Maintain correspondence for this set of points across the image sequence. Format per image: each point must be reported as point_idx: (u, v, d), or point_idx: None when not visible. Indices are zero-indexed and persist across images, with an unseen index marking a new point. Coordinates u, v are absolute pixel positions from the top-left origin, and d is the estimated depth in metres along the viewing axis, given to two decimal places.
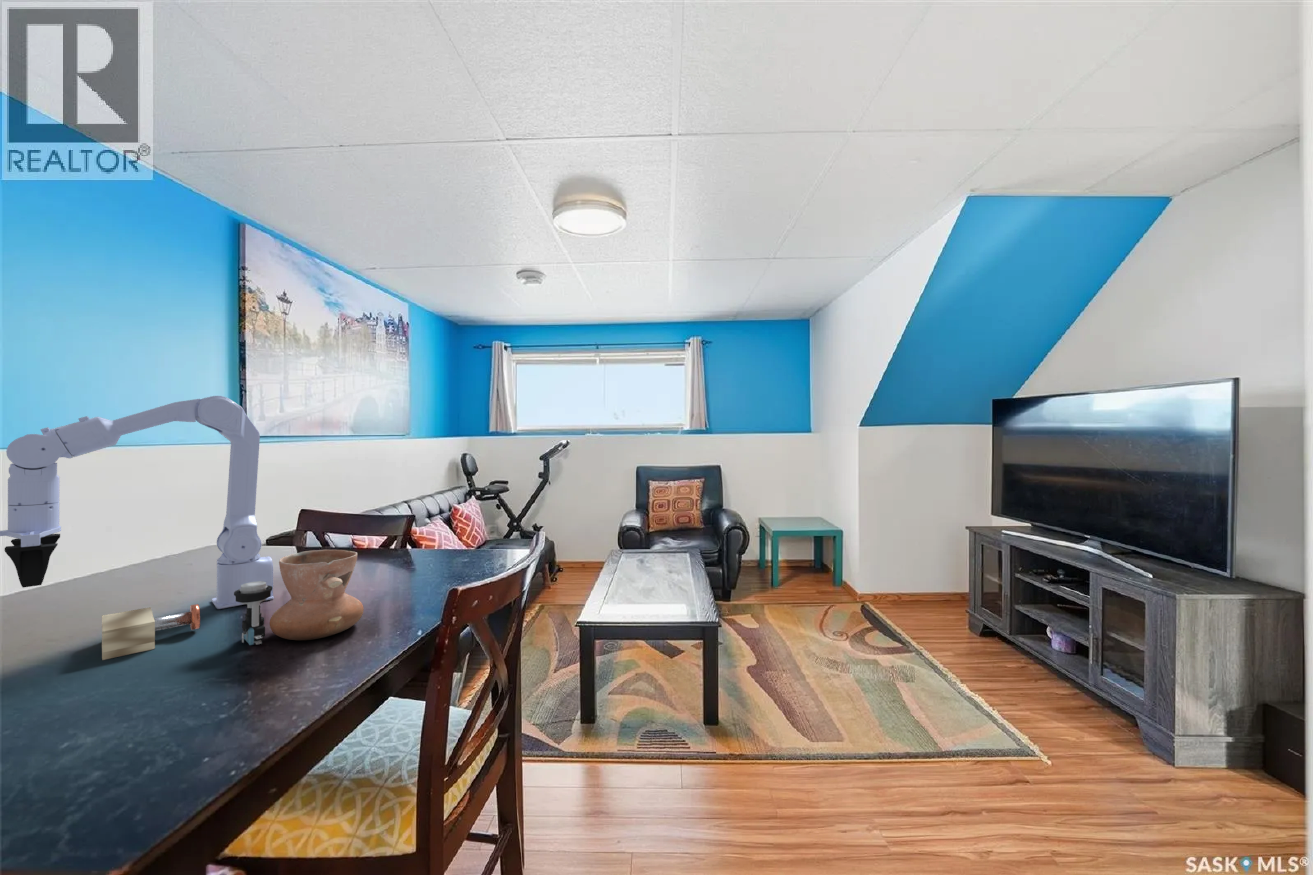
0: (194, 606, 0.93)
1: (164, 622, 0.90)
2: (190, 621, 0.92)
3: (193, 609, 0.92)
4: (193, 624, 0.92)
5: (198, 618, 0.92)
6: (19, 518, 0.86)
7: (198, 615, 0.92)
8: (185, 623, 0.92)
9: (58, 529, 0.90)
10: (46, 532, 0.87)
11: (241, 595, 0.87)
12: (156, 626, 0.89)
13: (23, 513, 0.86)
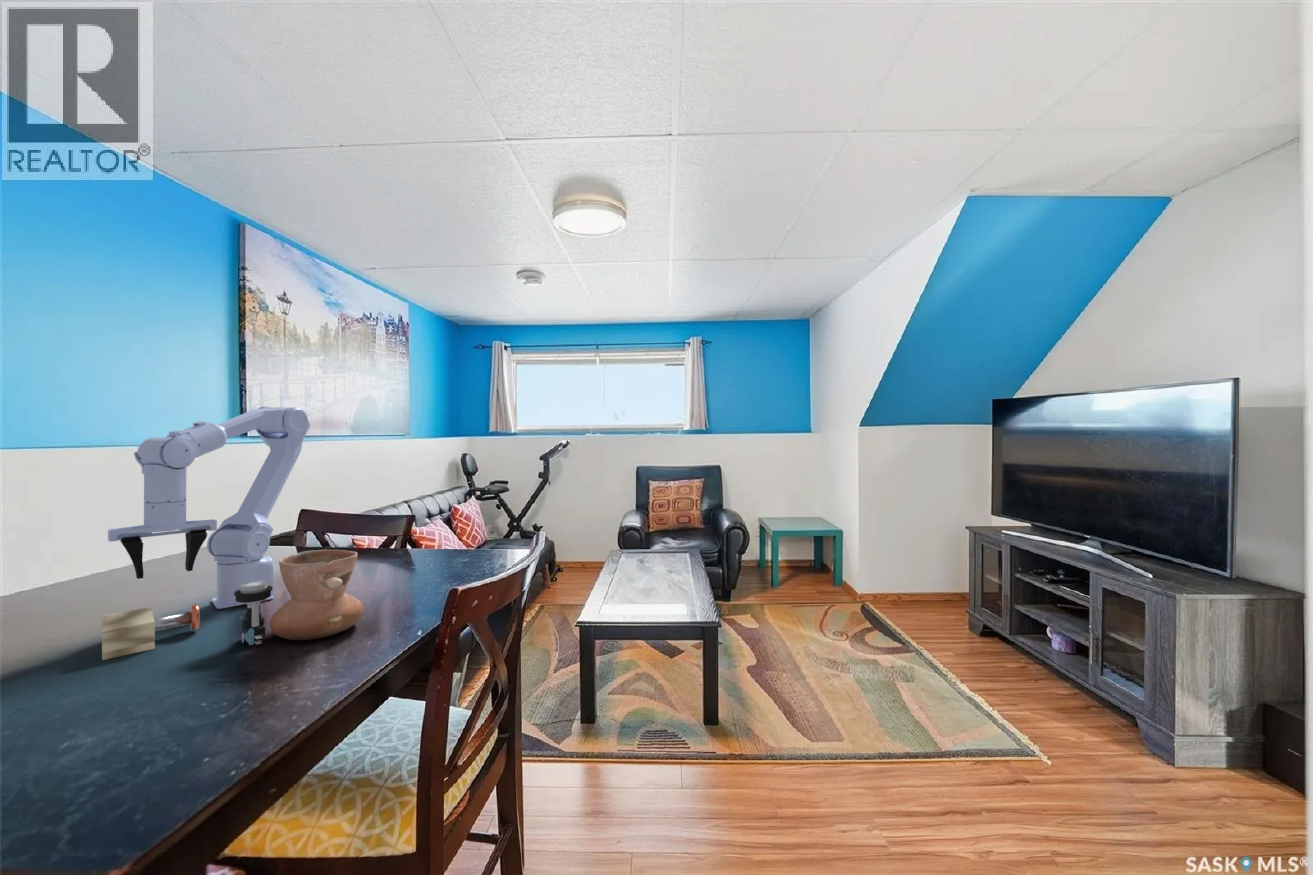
0: (194, 606, 0.93)
1: (164, 622, 0.90)
2: (190, 621, 0.92)
3: (193, 609, 0.92)
4: (193, 624, 0.92)
5: (198, 618, 0.92)
6: None
7: (198, 615, 0.92)
8: (185, 623, 0.92)
9: (158, 529, 0.93)
10: (131, 530, 0.91)
11: (241, 595, 0.87)
12: (156, 626, 0.89)
13: None
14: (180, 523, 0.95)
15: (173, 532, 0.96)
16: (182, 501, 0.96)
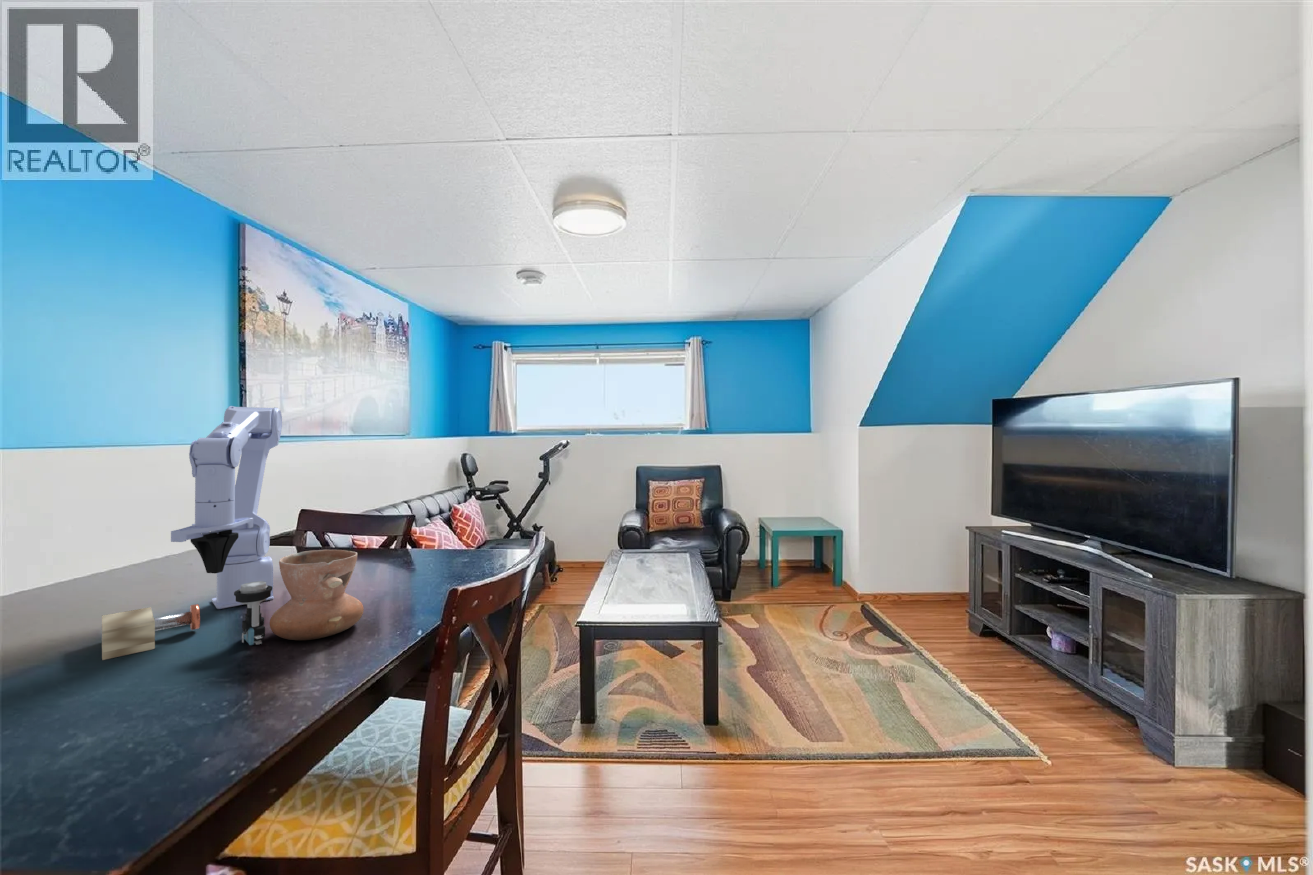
0: (194, 606, 0.93)
1: (164, 622, 0.90)
2: (190, 621, 0.92)
3: (193, 609, 0.92)
4: (193, 624, 0.92)
5: (198, 618, 0.92)
6: (195, 513, 0.94)
7: (198, 615, 0.92)
8: (185, 623, 0.92)
9: (222, 527, 0.95)
10: (199, 529, 0.92)
11: (241, 595, 0.87)
12: (156, 626, 0.89)
13: (196, 509, 0.94)
14: (234, 521, 0.98)
15: (221, 531, 0.98)
16: (234, 499, 0.98)
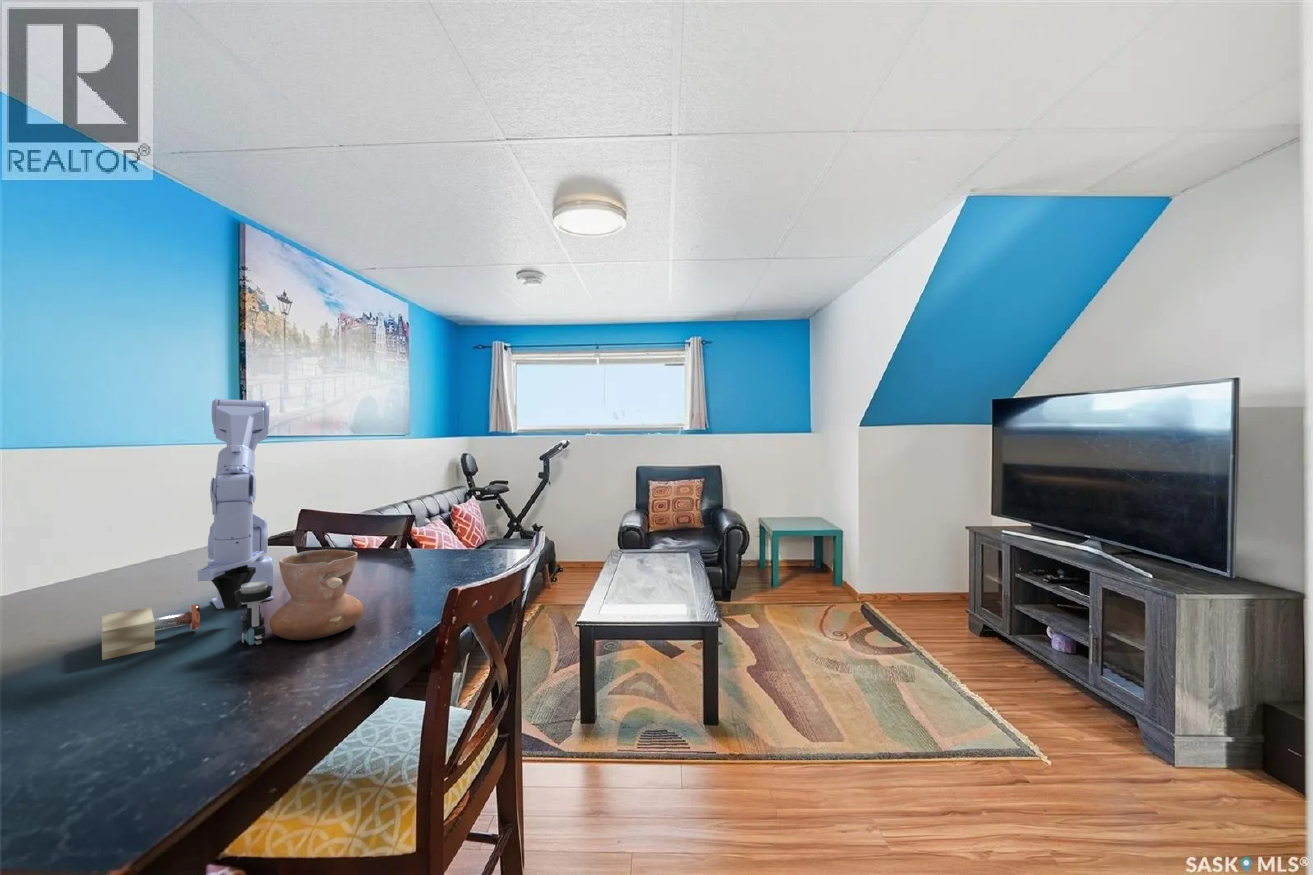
0: (194, 606, 0.93)
1: (164, 622, 0.90)
2: (190, 621, 0.92)
3: (193, 609, 0.92)
4: (193, 624, 0.92)
5: (198, 618, 0.92)
6: (215, 551, 0.95)
7: (198, 615, 0.92)
8: (185, 623, 0.92)
9: (244, 563, 0.96)
10: (224, 567, 0.93)
11: (241, 595, 0.87)
12: (156, 626, 0.89)
13: (217, 547, 0.94)
14: (252, 556, 0.99)
15: (238, 566, 0.98)
16: None
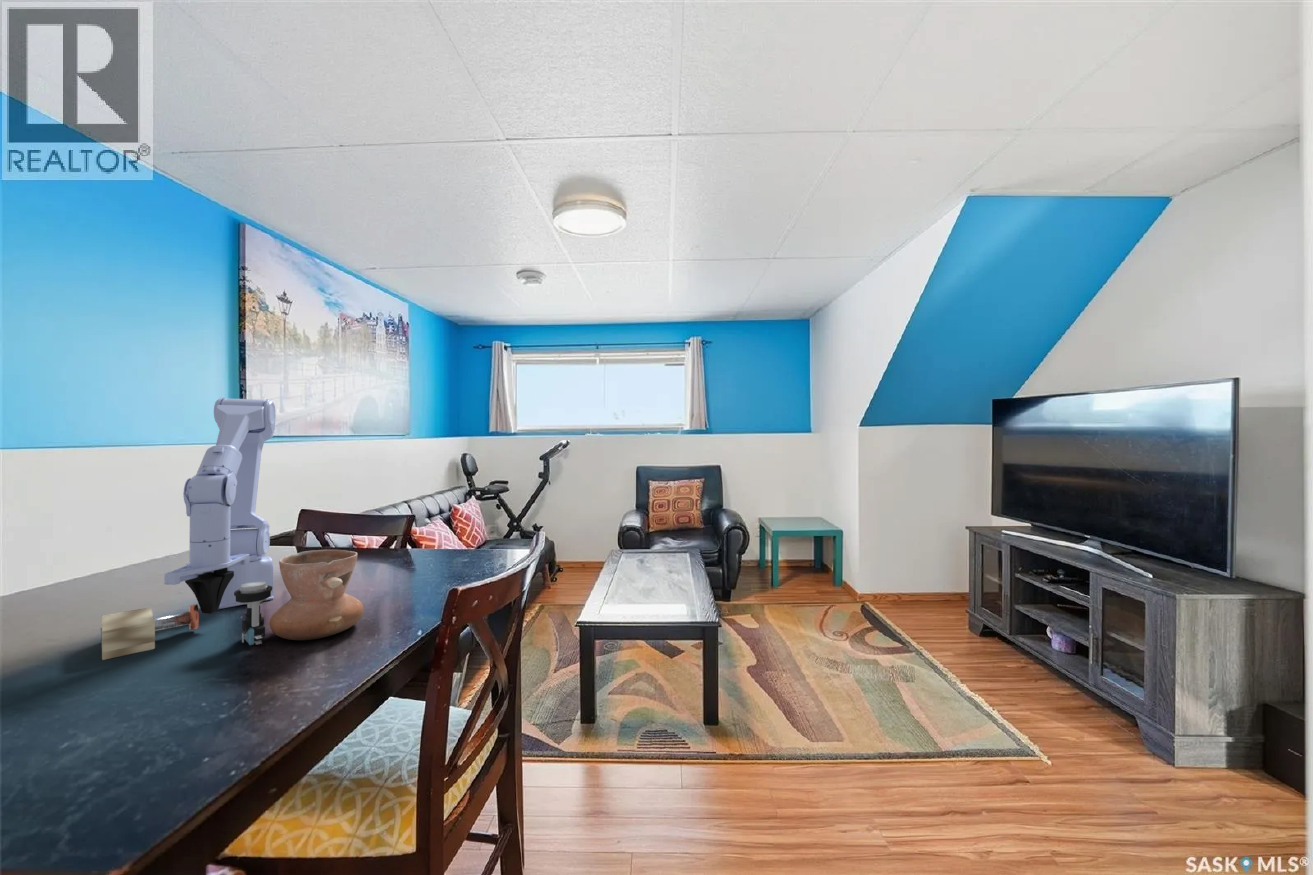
0: (193, 606, 0.93)
1: (163, 622, 0.90)
2: (189, 621, 0.92)
3: (192, 609, 0.92)
4: (192, 624, 0.92)
5: (197, 618, 0.92)
6: (190, 553, 0.92)
7: (197, 615, 0.92)
8: (184, 623, 0.92)
9: (217, 567, 0.93)
10: (193, 571, 0.90)
11: (241, 595, 0.87)
12: (155, 626, 0.89)
13: (191, 549, 0.92)
14: (229, 559, 0.96)
15: (217, 569, 0.96)
16: (230, 537, 0.97)
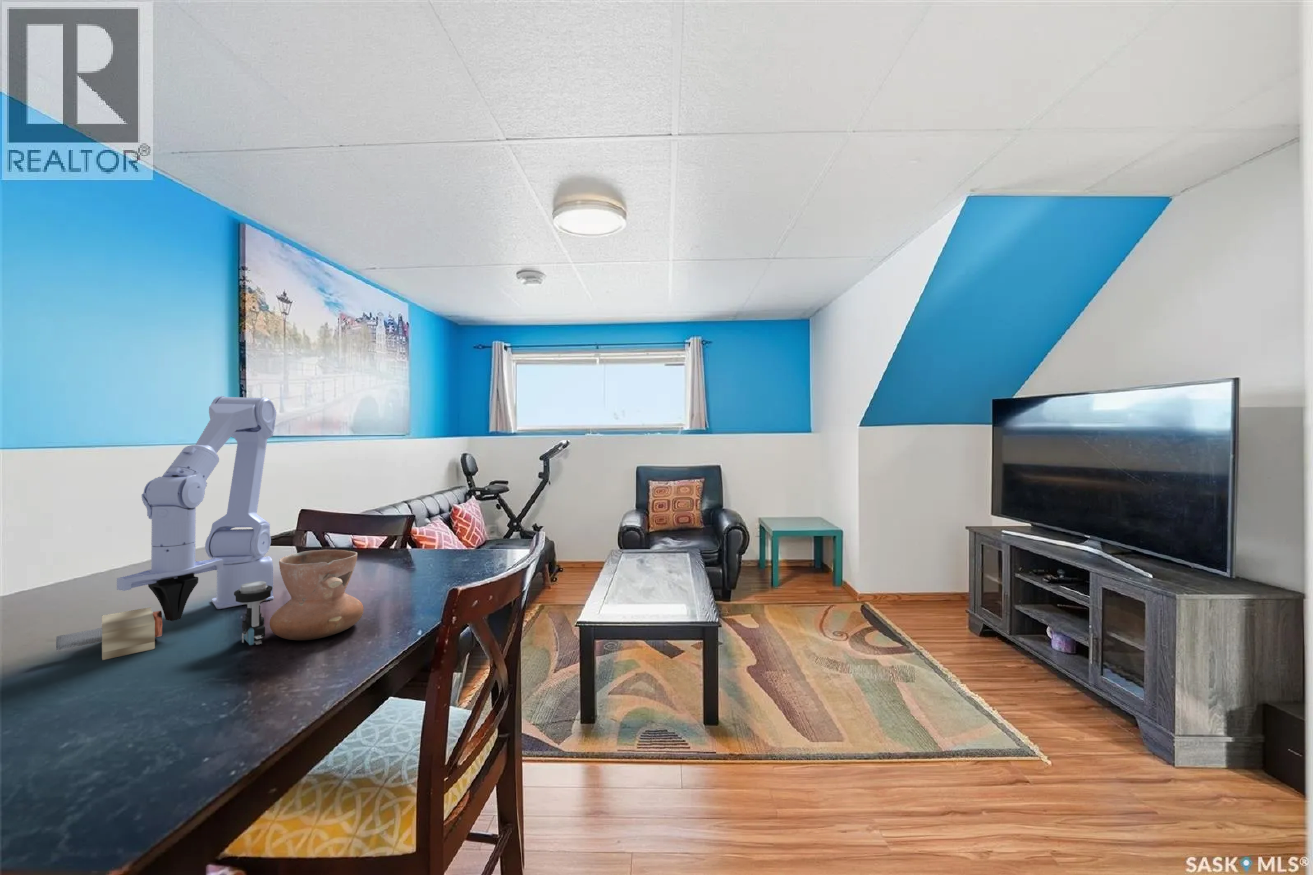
0: (156, 613, 0.89)
1: None
2: None
3: (155, 616, 0.89)
4: (155, 632, 0.88)
5: (160, 625, 0.88)
6: None
7: (160, 622, 0.88)
8: None
9: (174, 573, 0.89)
10: (146, 576, 0.86)
11: (241, 595, 0.87)
12: None
13: (151, 553, 0.89)
14: (193, 565, 0.92)
15: (182, 575, 0.92)
16: (194, 542, 0.92)
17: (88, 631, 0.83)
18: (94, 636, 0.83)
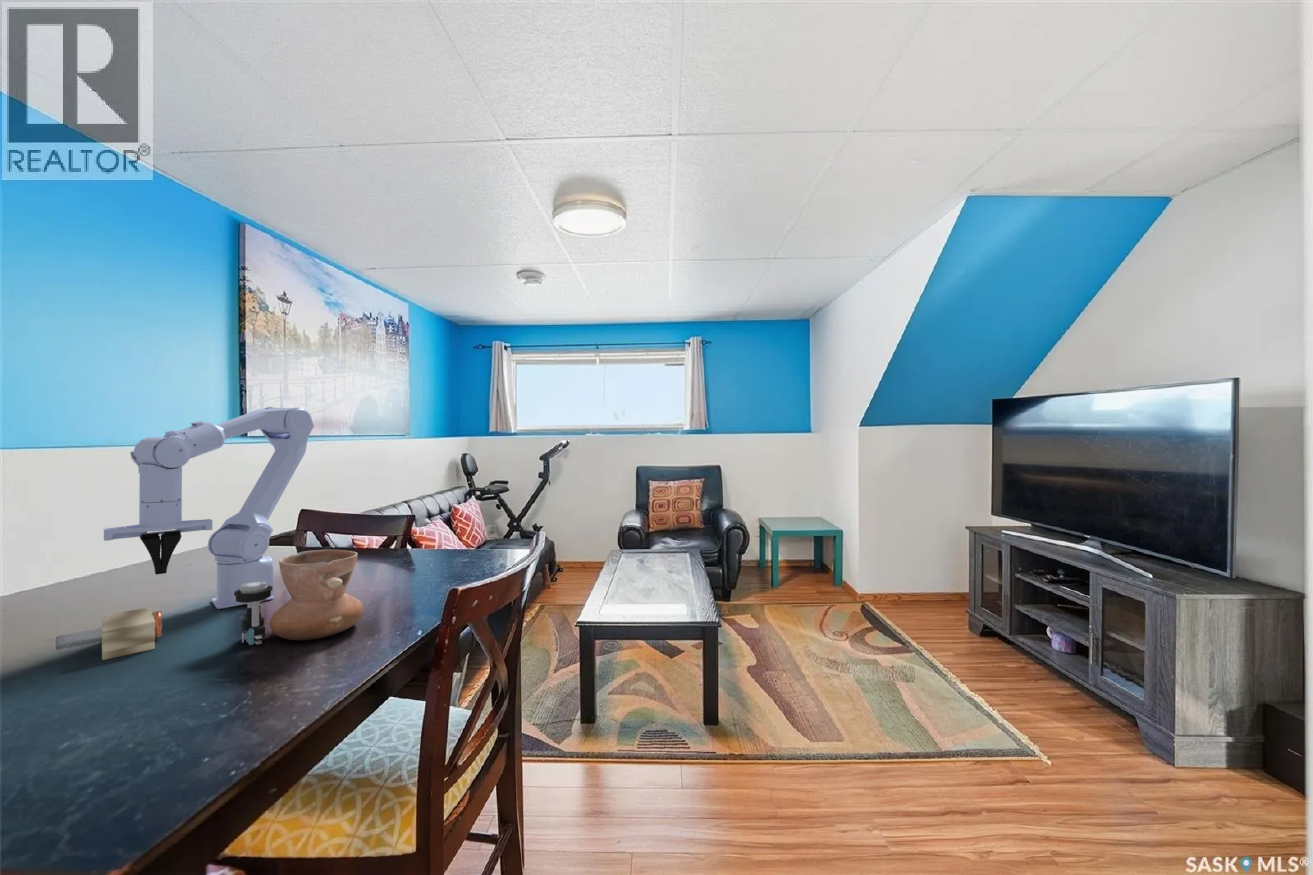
0: (156, 613, 0.89)
1: None
2: None
3: (155, 616, 0.89)
4: None
5: (160, 625, 0.88)
6: None
7: (160, 622, 0.88)
8: None
9: (153, 528, 0.93)
10: (126, 529, 0.91)
11: (241, 595, 0.87)
12: None
13: None
14: (175, 523, 0.96)
15: (169, 531, 0.96)
16: (177, 501, 0.96)
17: (88, 631, 0.83)
18: (93, 636, 0.83)
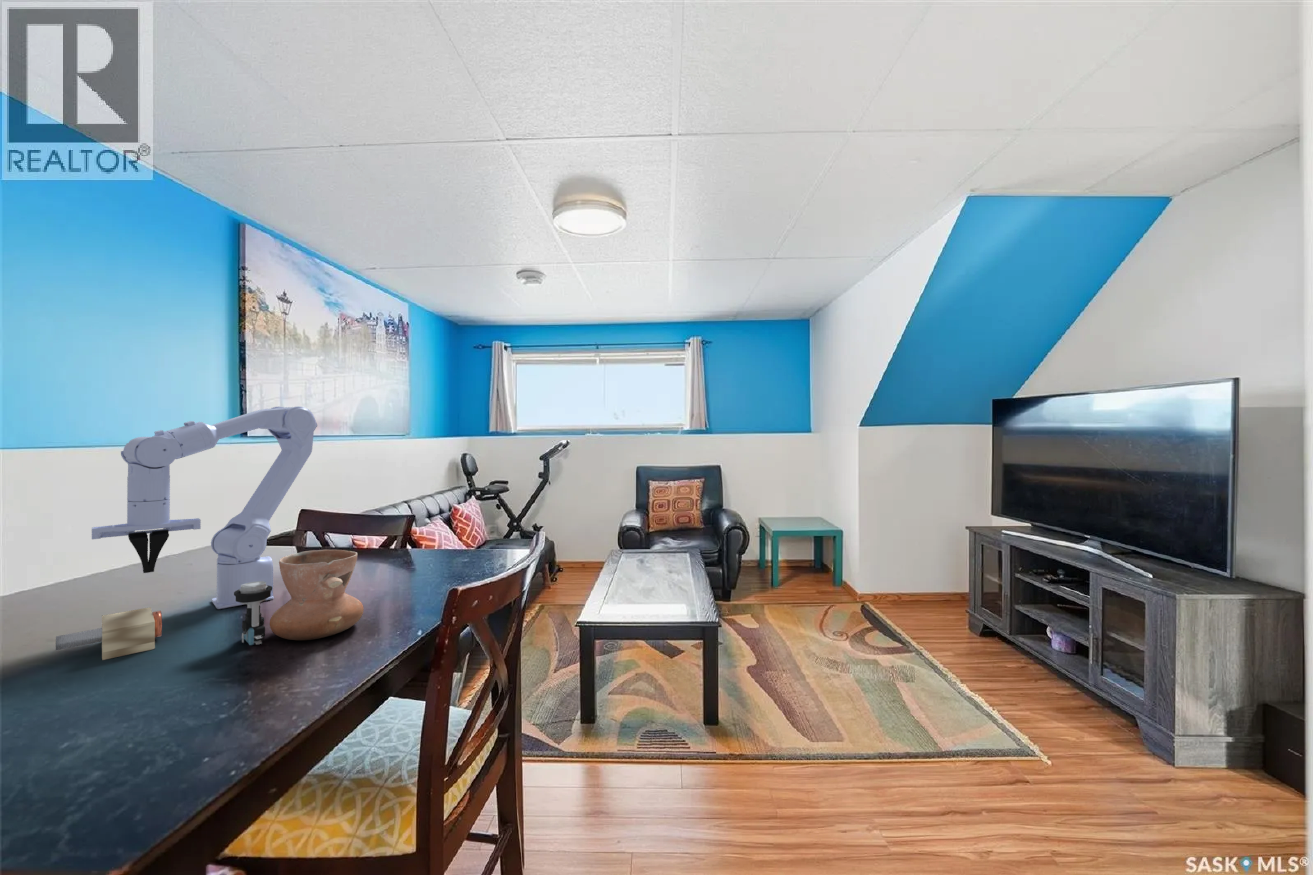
0: (156, 613, 0.89)
1: None
2: None
3: (155, 616, 0.89)
4: None
5: (160, 625, 0.88)
6: None
7: (160, 622, 0.88)
8: None
9: (140, 527, 0.94)
10: (113, 528, 0.92)
11: (241, 595, 0.87)
12: None
13: None
14: (162, 522, 0.96)
15: (156, 530, 0.97)
16: (165, 500, 0.97)
17: (88, 631, 0.83)
18: (93, 636, 0.83)
